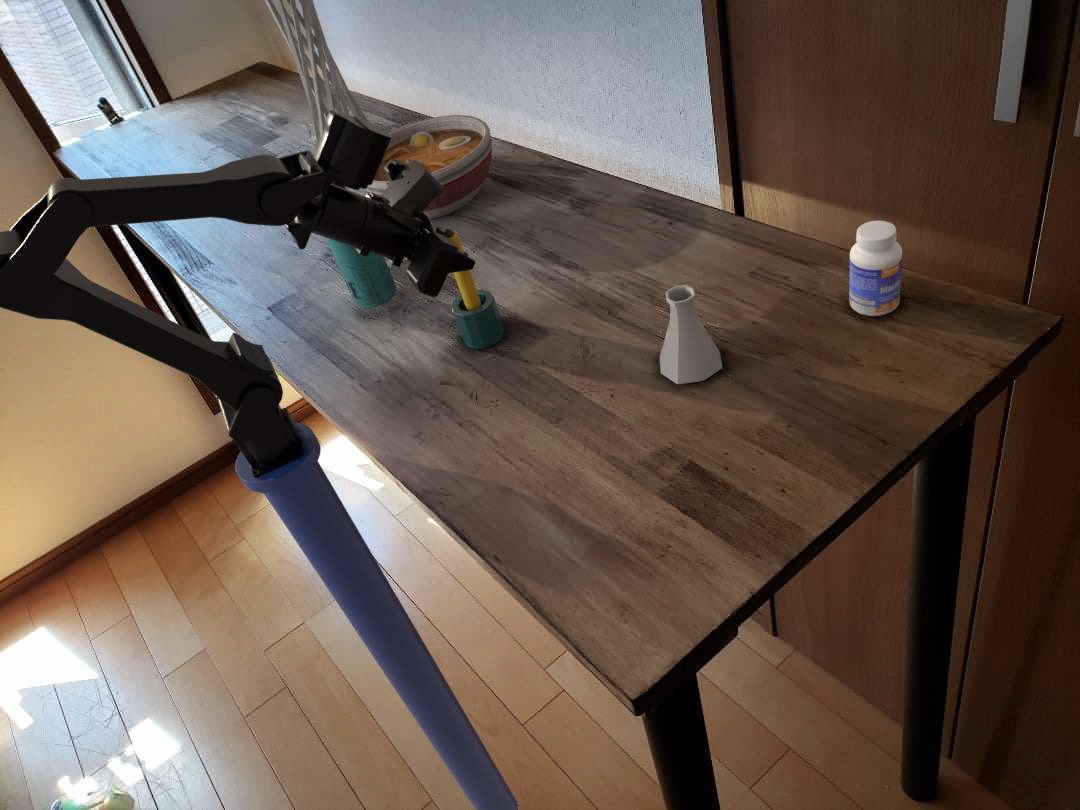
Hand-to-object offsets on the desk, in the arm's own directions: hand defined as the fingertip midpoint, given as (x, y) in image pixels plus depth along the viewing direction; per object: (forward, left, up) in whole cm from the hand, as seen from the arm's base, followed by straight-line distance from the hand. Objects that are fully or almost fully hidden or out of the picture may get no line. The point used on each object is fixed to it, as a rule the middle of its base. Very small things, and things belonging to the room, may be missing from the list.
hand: (470, 261), depth 103 cm
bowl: (+6, +41, -11) cm, 43 cm away
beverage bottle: (-11, +18, -11) cm, 24 cm away
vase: (-2, +73, -11) cm, 74 cm away
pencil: (-1, 0, -7) cm, 7 cm away
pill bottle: (+39, -26, -11) cm, 48 cm away
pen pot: (-1, 0, -11) cm, 11 cm away
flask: (+17, -22, -11) cm, 30 cm away
